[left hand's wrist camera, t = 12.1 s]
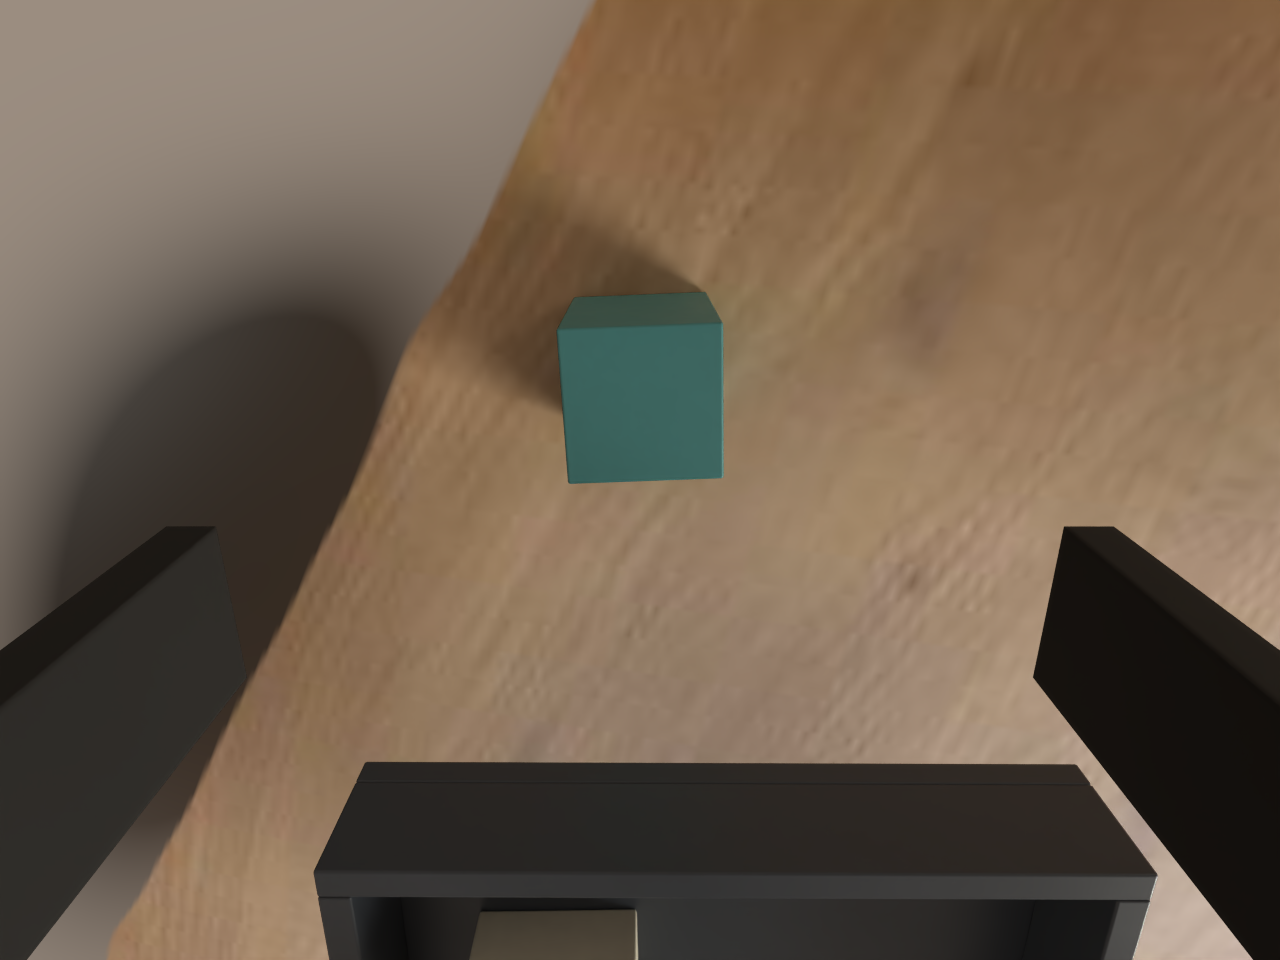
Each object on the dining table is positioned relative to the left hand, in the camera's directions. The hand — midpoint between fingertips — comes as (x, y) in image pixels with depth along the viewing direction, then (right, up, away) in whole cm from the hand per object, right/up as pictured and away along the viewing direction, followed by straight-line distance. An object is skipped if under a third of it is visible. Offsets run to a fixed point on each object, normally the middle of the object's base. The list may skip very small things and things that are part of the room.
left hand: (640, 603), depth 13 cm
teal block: (0, +6, +15) cm, 17 cm away
